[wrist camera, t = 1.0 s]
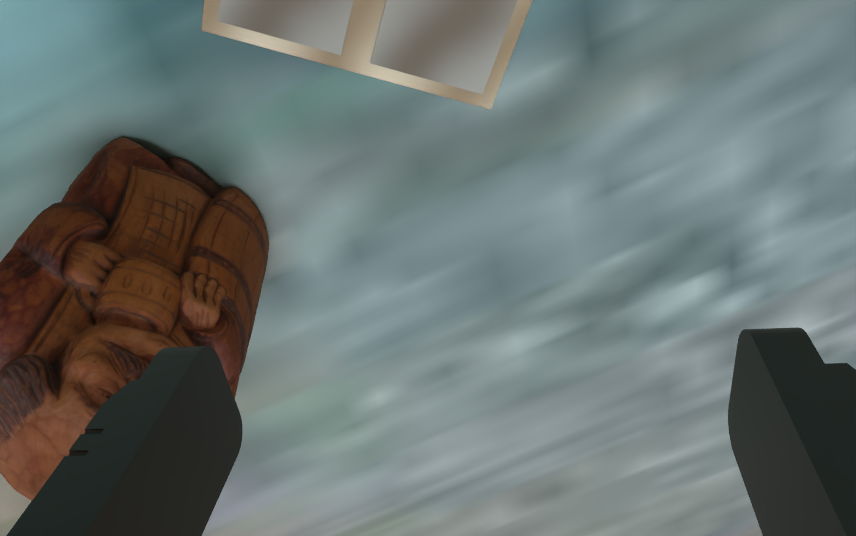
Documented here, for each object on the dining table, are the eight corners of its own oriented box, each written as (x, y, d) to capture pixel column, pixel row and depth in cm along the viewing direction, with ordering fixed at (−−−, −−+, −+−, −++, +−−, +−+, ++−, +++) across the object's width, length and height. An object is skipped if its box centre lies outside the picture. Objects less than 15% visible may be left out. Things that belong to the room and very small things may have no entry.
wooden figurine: (307, 227, 39) (257, 506, 25) (251, 294, 42) (177, 578, 28) (109, 109, 34) (-95, 372, 20) (61, 194, 37) (-147, 477, 23)
